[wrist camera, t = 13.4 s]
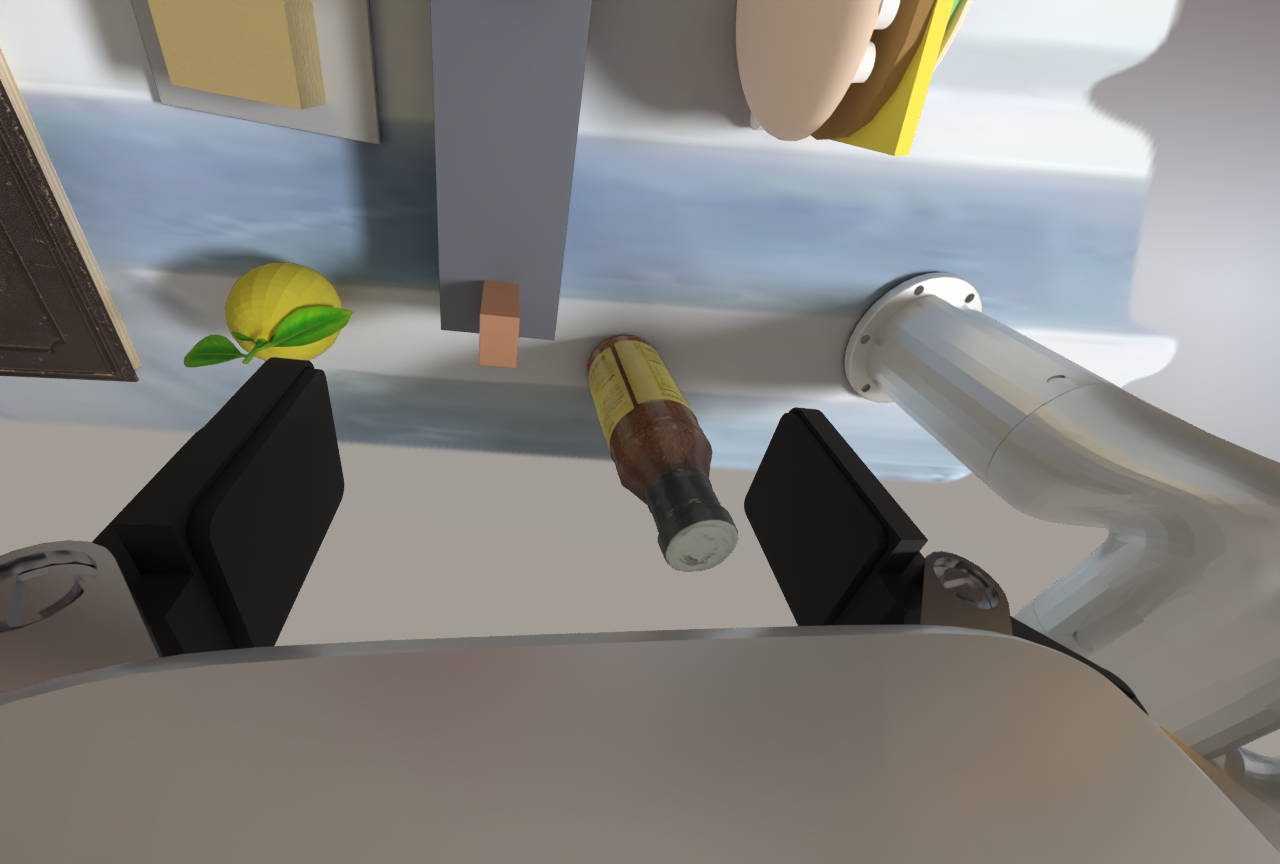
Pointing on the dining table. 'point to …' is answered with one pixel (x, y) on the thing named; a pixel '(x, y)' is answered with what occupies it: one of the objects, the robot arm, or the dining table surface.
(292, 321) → the lemon
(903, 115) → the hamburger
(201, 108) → the mat
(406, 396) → the dining table surface
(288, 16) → the tan rectangular block
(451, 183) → the plane body
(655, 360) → the sauce bottle
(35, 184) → the hardcover book
